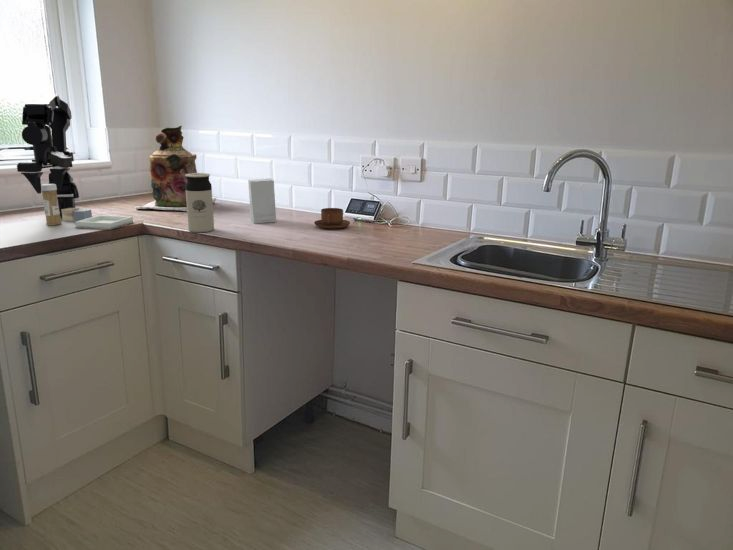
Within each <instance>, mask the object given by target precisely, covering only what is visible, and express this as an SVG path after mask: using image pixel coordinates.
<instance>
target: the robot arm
mask: <svg viewBox="0 0 733 550" xmlns="http://www.w3.org/2000/svg"><path fill="white" fill-rule="evenodd" d="M71 111H72V110H71V108H70V106H69V103H67V102H65V101H64V100H62V99H61V98H60V96H59V95H57V94H45V93H44V94H42V95H41V98H39V99H38V100H37V101H34V102H30V101H29V102H25V104H24V106H23V107H22V116H21V117H22V119H21V125H23V126H26V127H24V128H23V129H22V130H21V137H22V139H23V141H24V142H25V143H26V144H28V145H31V146H29V150H30V151H33V156H34V159H31V161H24V162H23V161H22V162H18V163H17V165H16V169H17V172H18V173H19V172H20V175H23V176H24V177H25V178H26V179H27V181H28V182H29V183H30V185H31V186H32V188H33V189H34V190H35V192H36V193H37V194H38V195H39V194H42V190H41V185H42V183H41V177H42V176H43V173H44V172H42V170H43V169H48V168H49V171H50V172H49V174H48V181H47V184H56V187H57V191H56V192H57V198H58V204H59V211H60V217H62V211H61V209H66V208H76V203H75V202H76V201H75V200H76V199H79V198H80V193H79V189H78V187H77V184H76V183H75V181H74V178H73V176H72V175H71V174H70V172H69V171H70V170H71V168H73V162H74V161H75V159H74V152H73V151H71V150H68V149H67V135H66V134H67V133H66V132H67V131H68V129H69V128H70V126H71V120H72V112H71Z"/></svg>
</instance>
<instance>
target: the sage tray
mask: <svg viewBox="0 0 733 550" xmlns="http://www.w3.org/2000/svg"><path fill="white" fill-rule="evenodd" d="M133 218H134V217H133V216H123V215H101V214H100V215H94V216H92V217H91V218H87V219H84V220H80V221H76V222H74V223H75V228H77V229H92V228H93V230H96V229H97V230H113V229H114V230H115V229H118V228H120V226H121V227H124V226H126V225H125V224H127V225H129V223H130V224H133V223H134V219H133ZM132 222H133V223H132ZM123 225H124V226H123Z"/></svg>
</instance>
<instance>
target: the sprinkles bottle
mask: <svg viewBox="0 0 733 550" xmlns="http://www.w3.org/2000/svg"><path fill="white" fill-rule="evenodd" d="M56 191H57V187H56V184H48V183H43V184H42V183H41V194H42V202H43V203H42V204H43V208H44V209H43V210H44V216H45V221H46V225H47V226H59V225H62V220H61V216H60V211H59V204H58V198H57V196H58V195H57V192H56Z"/></svg>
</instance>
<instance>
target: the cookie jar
mask: <svg viewBox="0 0 733 550" xmlns="http://www.w3.org/2000/svg"><path fill="white" fill-rule="evenodd" d="M182 127H183V126H182V125H180V124H179V125H178V126H176V127H168V126H167V127H164V128H163V129H161V130H160V132H159V133H157V134H155V141H156V142H157V143H158V144H160V146H159V149H158V150H155V151H154V152H153V153H152V154H151V155H149V163H150V165H149V166H150V167H149V171H150V178H151V180H150V181H151V182H150V183H151V184H150V187H151V188H152V197H153V199H154V200H153V201H151V202H149V203H147V204H144V205H142V206H139V205H138V206H135V207H134V208H135V210H140V209H141V210H145V209H146V210H147V209H152V210H158V211H159V210H160V211H161V210H162V211H183V212H187V201H186V188H185V185H186V182H187V177H186V176H185V175H186V174H192V173H198V170H197V165H196V160H197V154H196V153H192V152H190V151H188V150H186V148H185V147H183V141H184V136H183V132H182ZM216 200H217V198H216V197H215V198H214V197H212V202H213V204H216Z"/></svg>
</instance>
